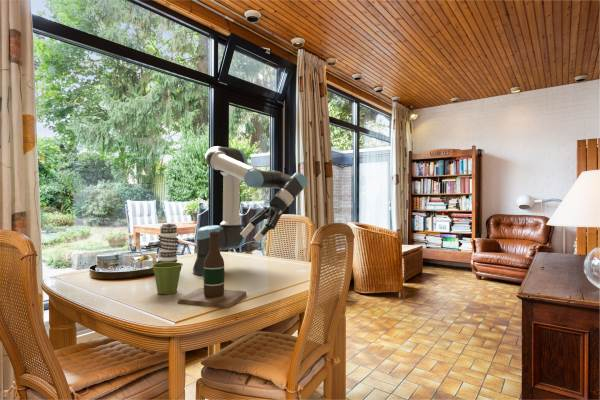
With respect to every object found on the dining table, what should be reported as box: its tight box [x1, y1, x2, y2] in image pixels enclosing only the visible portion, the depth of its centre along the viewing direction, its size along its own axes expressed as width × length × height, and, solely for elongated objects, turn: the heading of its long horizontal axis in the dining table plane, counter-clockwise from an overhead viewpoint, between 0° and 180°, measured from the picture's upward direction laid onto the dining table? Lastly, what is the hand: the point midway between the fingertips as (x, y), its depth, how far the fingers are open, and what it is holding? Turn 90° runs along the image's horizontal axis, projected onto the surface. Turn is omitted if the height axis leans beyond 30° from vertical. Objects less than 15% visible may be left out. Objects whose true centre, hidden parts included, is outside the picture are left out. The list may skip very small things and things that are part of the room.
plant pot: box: [151, 261, 184, 296], centre depth 137 cm, size 12×12×11 cm
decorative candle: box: [158, 222, 179, 263], centre depth 169 cm, size 9×9×25 cm
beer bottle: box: [203, 232, 225, 298], centre depth 129 cm, size 8×8×24 cm
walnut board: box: [177, 287, 247, 309], centre depth 129 cm, size 20×16×2 cm
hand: (248, 238), depth 141 cm, fingers open, 13 cm apart
